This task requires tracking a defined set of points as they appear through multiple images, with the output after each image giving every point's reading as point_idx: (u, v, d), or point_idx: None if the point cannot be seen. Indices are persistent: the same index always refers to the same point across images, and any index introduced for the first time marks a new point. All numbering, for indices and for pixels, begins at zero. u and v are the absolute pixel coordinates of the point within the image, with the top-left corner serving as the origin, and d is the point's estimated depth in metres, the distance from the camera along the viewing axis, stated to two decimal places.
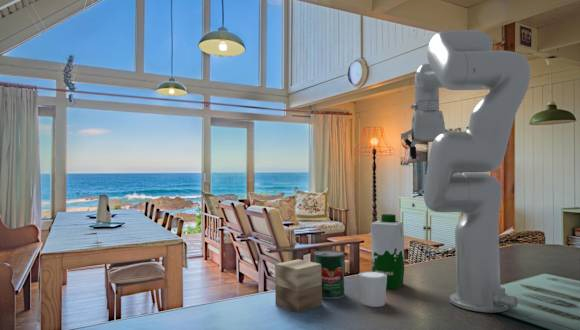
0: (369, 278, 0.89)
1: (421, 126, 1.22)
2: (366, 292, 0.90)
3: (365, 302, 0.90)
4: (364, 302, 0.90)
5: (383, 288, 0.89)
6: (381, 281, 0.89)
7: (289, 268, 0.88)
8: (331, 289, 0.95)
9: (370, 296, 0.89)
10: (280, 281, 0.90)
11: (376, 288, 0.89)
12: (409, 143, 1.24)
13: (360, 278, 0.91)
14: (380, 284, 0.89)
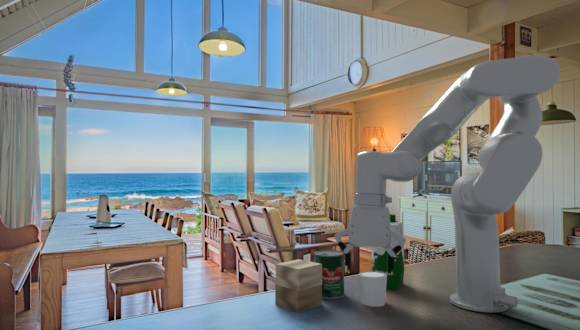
0: (369, 278, 0.89)
1: None
2: (366, 292, 0.90)
3: (365, 302, 0.90)
4: (364, 302, 0.90)
5: (383, 288, 0.89)
6: (381, 281, 0.89)
7: (290, 268, 0.88)
8: (331, 289, 0.95)
9: (370, 296, 0.89)
10: (281, 281, 0.90)
11: (376, 288, 0.89)
12: None
13: (360, 278, 0.91)
14: (380, 284, 0.89)
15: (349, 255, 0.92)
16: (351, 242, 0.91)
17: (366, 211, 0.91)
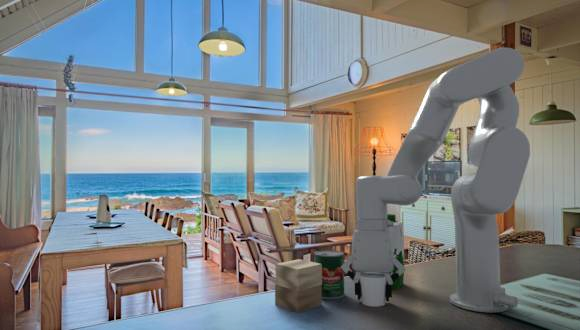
0: (369, 278, 0.89)
1: None
2: (366, 292, 0.90)
3: (365, 302, 0.90)
4: (364, 302, 0.90)
5: (383, 288, 0.89)
6: (381, 281, 0.89)
7: (290, 268, 0.88)
8: (331, 289, 0.95)
9: (370, 296, 0.89)
10: (280, 281, 0.90)
11: (376, 288, 0.89)
12: None
13: (360, 278, 0.91)
14: (380, 284, 0.89)
15: (359, 285, 0.91)
16: (354, 268, 0.91)
17: (369, 237, 0.90)
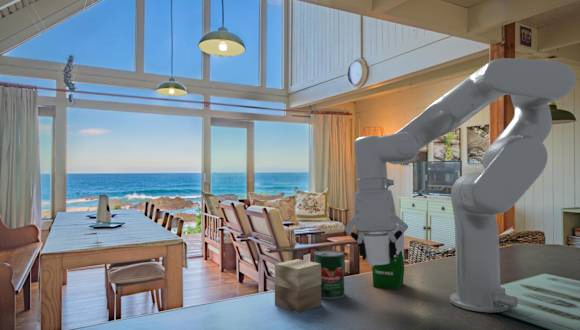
0: (372, 237, 0.89)
1: None
2: (370, 251, 0.90)
3: (370, 261, 0.90)
4: (369, 261, 0.91)
5: (387, 246, 0.90)
6: (384, 239, 0.89)
7: (289, 268, 0.88)
8: (331, 289, 0.95)
9: (375, 255, 0.89)
10: (280, 281, 0.90)
11: (380, 246, 0.89)
12: None
13: (363, 238, 0.92)
14: (383, 242, 0.89)
15: (363, 245, 0.91)
16: (357, 228, 0.91)
17: (370, 196, 0.91)
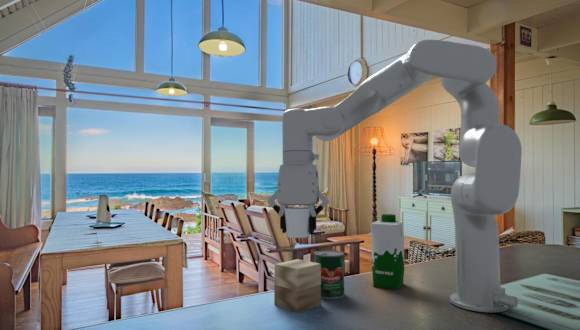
0: (292, 209, 0.89)
1: None
2: (289, 224, 0.89)
3: (288, 234, 0.90)
4: (288, 234, 0.90)
5: (306, 220, 0.89)
6: (304, 212, 0.89)
7: (289, 268, 0.88)
8: (331, 289, 0.95)
9: (293, 227, 0.89)
10: (280, 281, 0.90)
11: (298, 219, 0.89)
12: None
13: (285, 211, 0.91)
14: (302, 215, 0.89)
15: (284, 218, 0.91)
16: (279, 201, 0.91)
17: (292, 169, 0.90)
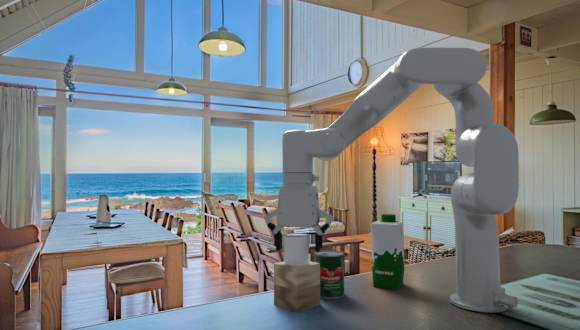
0: (290, 237, 0.89)
1: None
2: (287, 252, 0.89)
3: (287, 262, 0.90)
4: (286, 262, 0.90)
5: (304, 247, 0.89)
6: (302, 240, 0.89)
7: (288, 267, 0.88)
8: (331, 289, 0.95)
9: (291, 256, 0.89)
10: (279, 280, 0.90)
11: (297, 247, 0.88)
12: None
13: (283, 238, 0.91)
14: (300, 243, 0.89)
15: (278, 235, 0.91)
16: (279, 222, 0.91)
17: (292, 190, 0.90)
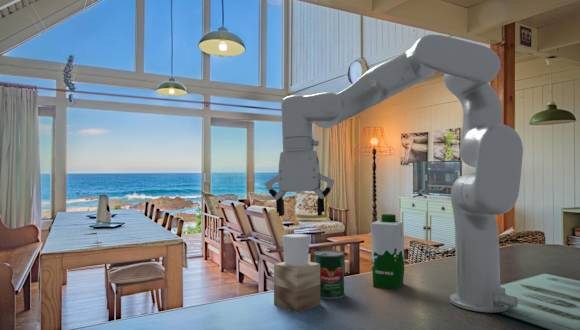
0: (290, 238, 0.89)
1: None
2: (287, 252, 0.89)
3: (287, 262, 0.90)
4: (286, 262, 0.90)
5: (304, 248, 0.89)
6: (302, 241, 0.89)
7: (288, 268, 0.88)
8: (331, 289, 0.95)
9: (291, 256, 0.89)
10: (279, 281, 0.90)
11: (296, 248, 0.88)
12: None
13: (282, 239, 0.91)
14: (300, 244, 0.89)
15: (280, 201, 0.91)
16: (280, 188, 0.91)
17: (293, 155, 0.90)
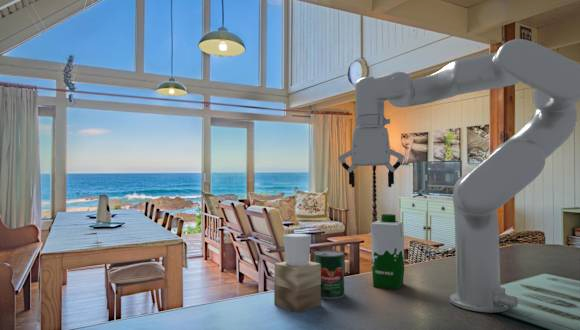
0: (290, 237, 0.89)
1: None
2: (287, 251, 0.89)
3: (287, 262, 0.90)
4: (286, 262, 0.90)
5: (304, 248, 0.89)
6: (302, 240, 0.88)
7: (289, 268, 0.88)
8: (331, 289, 0.95)
9: (291, 255, 0.89)
10: (280, 280, 0.90)
11: (296, 247, 0.88)
12: None
13: None
14: (300, 243, 0.88)
15: (353, 173, 1.00)
16: (354, 161, 0.99)
17: (367, 132, 0.98)
